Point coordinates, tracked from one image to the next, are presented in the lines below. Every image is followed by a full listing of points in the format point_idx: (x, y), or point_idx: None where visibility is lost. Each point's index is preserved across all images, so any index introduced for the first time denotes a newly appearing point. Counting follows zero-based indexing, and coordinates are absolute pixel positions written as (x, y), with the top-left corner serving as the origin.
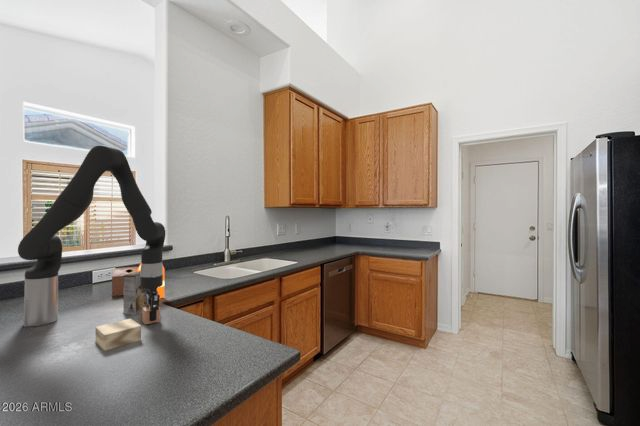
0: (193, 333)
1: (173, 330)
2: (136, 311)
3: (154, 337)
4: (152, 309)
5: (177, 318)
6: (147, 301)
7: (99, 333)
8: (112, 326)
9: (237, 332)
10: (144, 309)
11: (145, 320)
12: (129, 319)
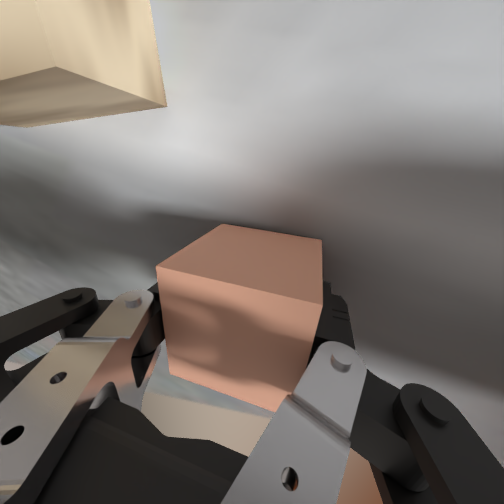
0: (38, 301)
1: (86, 278)
2: None
3: (39, 190)
4: (59, 303)
5: None
6: (65, 389)
7: None
8: None
9: (17, 358)
10: (219, 285)
11: (209, 234)
12: (25, 42)
